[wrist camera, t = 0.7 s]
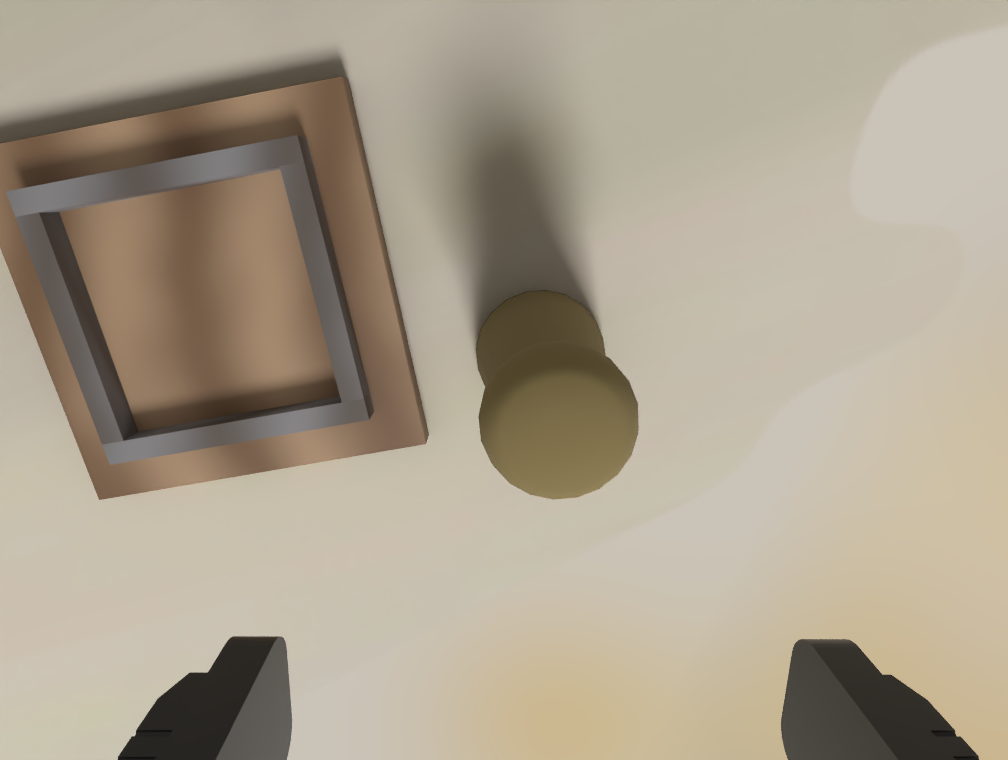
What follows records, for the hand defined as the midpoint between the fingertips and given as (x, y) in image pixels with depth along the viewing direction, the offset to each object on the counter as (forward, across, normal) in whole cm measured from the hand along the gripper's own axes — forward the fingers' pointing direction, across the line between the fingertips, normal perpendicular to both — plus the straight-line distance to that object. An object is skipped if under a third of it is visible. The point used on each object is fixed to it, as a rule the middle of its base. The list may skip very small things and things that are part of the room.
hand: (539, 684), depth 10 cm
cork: (+21, -2, -1) cm, 21 cm away
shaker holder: (+21, +13, -3) cm, 25 cm away
